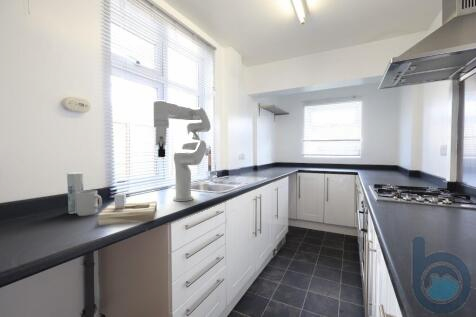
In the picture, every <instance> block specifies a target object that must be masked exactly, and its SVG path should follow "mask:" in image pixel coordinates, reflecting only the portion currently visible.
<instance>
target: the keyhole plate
mask: <svg viewBox="0 0 476 317" xmlns="http://www.w3.org/2000/svg"><path fill="white" fill-rule="evenodd" d="M157 204H158V203H157V201H140V202H126V206H125V209H117V210H116V208H115V203H110V204H108V205H107V206H106V207H105V208H104V209H103V210H102V211H101V212H100V213H99V214H97V215H98V218H97V219H98V221H97V222H98V226H105V225H106V226H107V225H117V224H119V225H120V224H129V223H139V222H141V221H142V222H150V221H155V211H157V210H158V208H157V206H158V205H157Z"/></svg>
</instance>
